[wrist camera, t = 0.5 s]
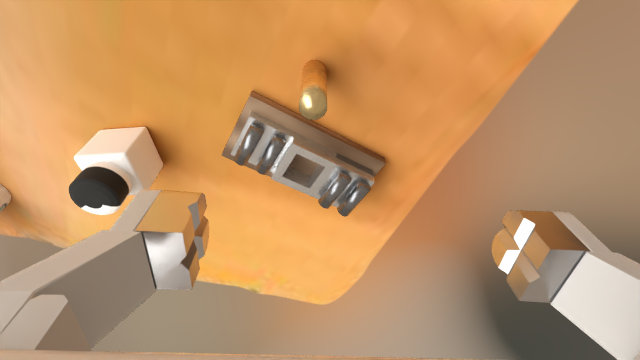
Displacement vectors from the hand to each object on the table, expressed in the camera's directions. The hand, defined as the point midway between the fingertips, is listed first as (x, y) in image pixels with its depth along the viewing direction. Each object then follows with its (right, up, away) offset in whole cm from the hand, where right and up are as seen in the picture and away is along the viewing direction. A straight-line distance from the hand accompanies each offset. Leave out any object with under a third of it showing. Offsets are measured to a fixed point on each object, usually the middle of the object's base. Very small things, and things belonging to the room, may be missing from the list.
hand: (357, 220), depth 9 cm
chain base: (-3, +5, +43) cm, 44 cm away
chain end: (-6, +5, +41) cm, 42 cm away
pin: (-2, +15, +35) cm, 38 cm away
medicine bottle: (-29, +6, +43) cm, 52 cm away
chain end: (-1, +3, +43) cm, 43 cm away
